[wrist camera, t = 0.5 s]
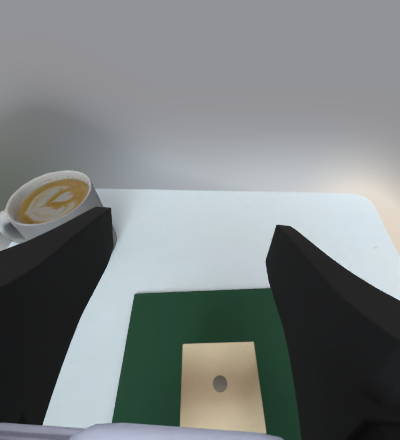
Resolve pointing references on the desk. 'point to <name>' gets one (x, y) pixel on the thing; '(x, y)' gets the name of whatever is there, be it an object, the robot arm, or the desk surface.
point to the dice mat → (202, 333)
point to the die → (221, 387)
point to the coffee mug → (47, 204)
